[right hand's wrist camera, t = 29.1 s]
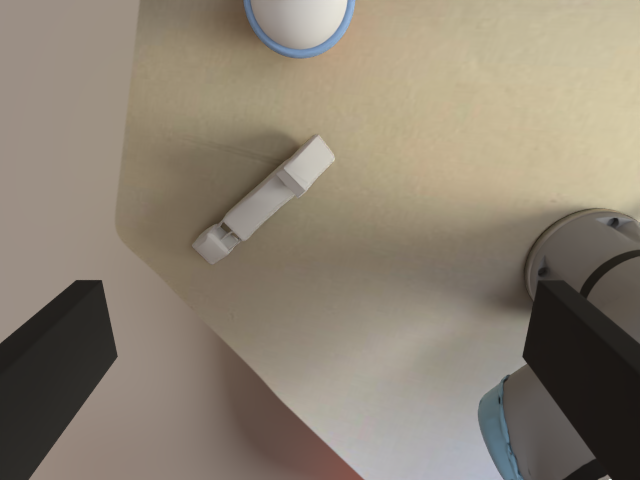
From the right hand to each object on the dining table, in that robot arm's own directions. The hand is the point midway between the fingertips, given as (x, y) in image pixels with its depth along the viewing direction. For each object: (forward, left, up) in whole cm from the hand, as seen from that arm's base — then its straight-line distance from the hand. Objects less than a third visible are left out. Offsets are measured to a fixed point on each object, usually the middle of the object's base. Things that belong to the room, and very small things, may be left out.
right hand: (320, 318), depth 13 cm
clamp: (+9, 0, -38) cm, 39 cm away
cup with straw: (-8, -11, -38) cm, 40 cm away
